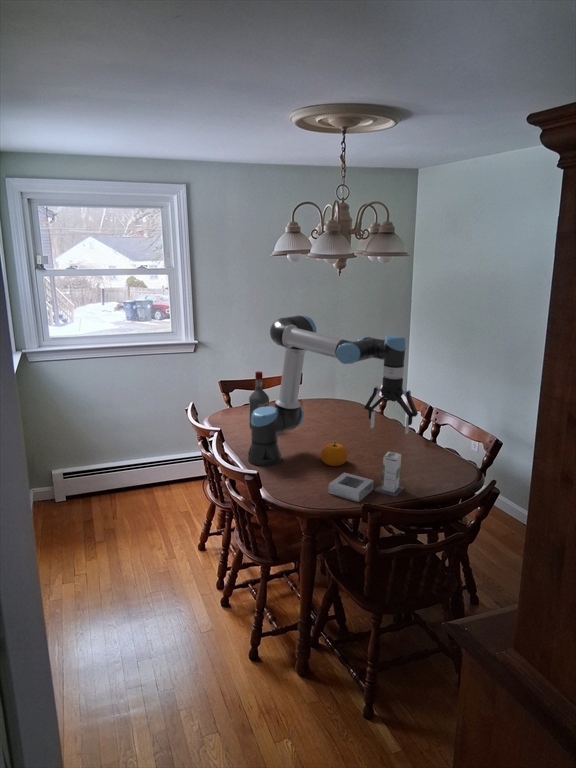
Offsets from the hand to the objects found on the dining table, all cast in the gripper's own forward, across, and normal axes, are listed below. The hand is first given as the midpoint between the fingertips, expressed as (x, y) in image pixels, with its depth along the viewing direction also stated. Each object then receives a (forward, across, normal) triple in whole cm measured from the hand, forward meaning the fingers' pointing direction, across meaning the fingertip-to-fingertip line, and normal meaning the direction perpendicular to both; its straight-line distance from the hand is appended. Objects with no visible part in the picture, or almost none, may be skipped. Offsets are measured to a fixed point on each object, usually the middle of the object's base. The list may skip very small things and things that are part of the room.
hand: (389, 429), depth 204 cm
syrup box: (+24, +2, -1) cm, 24 cm away
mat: (+24, +2, -1) cm, 25 cm away
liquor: (+26, -79, +43) cm, 94 cm away
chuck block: (+25, -11, -9) cm, 29 cm away
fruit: (+25, -27, +15) cm, 40 cm away
